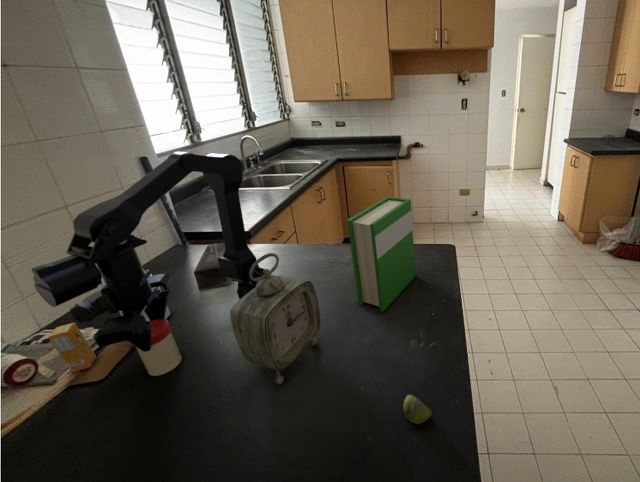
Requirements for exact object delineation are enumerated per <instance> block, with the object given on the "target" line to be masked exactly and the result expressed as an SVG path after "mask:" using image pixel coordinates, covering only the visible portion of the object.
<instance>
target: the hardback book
mask: <svg viewBox="0 0 640 482" xmlns="http://www.w3.org/2000/svg"><path fill="white" fill-rule="evenodd" d="M346 221H347V229H348V235H349V242H350V249H351V256H352V257H351V258H352V263H353V265H352V266H353V270H354V279H355V286H356V292H357V300H358V305H360V306H363V305H364V304H369V305H372V306H376V307H378V308H379V311H380V312H382V313H383V312H384V311H385V310H386V309H387V308H388V307H389V306H390V305H391V304H392V303H393V302H394V300H395V299H397V297H398V296H399V295H400V294H401V293H402V292H403V291H404V289H405V288H406V287H408V285H409V284H410V283H411V282H412V281H413V280H414V278H416V264H415V262H416V261H415V246H414V231H413V212H412V199H410V198H402V197H396V196H387V195H386V197H384V198H382V199H380V200H378V201H377V202H375V203H373V204H372V205H370V206H369V207H366V208H365V209H363V210H362V211H360V212H358V213H356V214H355V215H352V216H351V217H350V218H348V219H347V220H346Z"/></svg>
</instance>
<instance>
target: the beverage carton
mask: <svg viewBox="0 0 640 482" xmlns="http://www.w3.org/2000/svg"><path fill="white" fill-rule="evenodd" d="M224 252H225V244H224V242H221V243H211V244H209V245H206V247H205V249H204V251H203V253H202V255H201V257H200V259H199V261H198V263H197V265H196V267H195V269H194V271H193V276H194V279H195V281H196V285H197V288H198V290H205V289H209V288H215V287H220V286H226V285H228V284H229V280H230V279H228V278H226V277H224V276H223V274H222V273H221V272H219V269H220V268H219V263H218V261H217V258H218V257H222V256H223V254H224Z"/></svg>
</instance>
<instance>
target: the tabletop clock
mask: <svg viewBox="0 0 640 482" xmlns="http://www.w3.org/2000/svg"><path fill="white" fill-rule="evenodd" d="M269 257H274V258H275V264H274V265H273V267H272V268H271V269H270V270H269V269H268V268H264V269H265V270H264V271H263V274H264V275H263V276H261V277H259V278H253V277H252V274H253V271H254V269H255V267H256V266H257V265H259V264H260V263H261V262H262V261H264V260H265V259H268V258H269ZM256 260H257V261H255V262H254V264H253V265H252V267H251V269H250V274H249V275H250V279H251V280H252V281H259V282H258V283H257V284H256V287H255V288H254V289H252V290H251V291H250V292H249V293H247V294H246V295H245V296H244V297H242V298H241V299H240V300H239V299H238V300H237V301H236V302H235V303H234V304H233V306H232V307H231V308H230V322H231V326H232V330H233V335H234V338H235V339H236V342H237V344H238V347H239V349H240V351H241V354H242V355H243V357H244V358H245V360H247V361H248V362H249V363H252V364H255V365H258V366H261V367H263V368H267V369H271V370H274V371H275V373H276V377H275V378H274V382H275V384H276V385H281V384H283V383H284V380H285V378H284V376H283V375H281V372H282V371H284V370H285V369H287V368H288V367H290V366H291V364H293V362H294V361H295V360H297V358H299V357H300V356H301V354H302V353H303V352H304V351H305V350H306V349H307V347H308V346H309V345H310V346H316V345H317V343H318V339H317V338H316V336H317V334H318V333H319V331H320V327H321V313H320V306H319V300H318V296H317V293H316V290H315V287H314V285H313V283H312V282H311V280H309V279H306V278H305V279H304V278H300V277H293V276H289V275H283V274H279V275H275V274H273V273H274V272H275V271H276V270H277V268H278V266H279V262H280V258H279V256H278V254H276V253H273V252H270V253H269V252H268V253H266V254H263V255H262V256H260V257H259V258H258V259H256Z"/></svg>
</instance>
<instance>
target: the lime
mask: <svg viewBox="0 0 640 482" xmlns="http://www.w3.org/2000/svg"><path fill="white" fill-rule="evenodd" d="M402 409H403V413H404V415H405V417H406V419H407V421H409V422H411V423H413V424H414V425H415V424H416V425H420V424H422V423H425V422H426V421H428V420H429V419H430V418H431V416H432V413H433V412H432V410H431V409H430V408H429V407H428V406H427V405H425V404H424V403H423V402H422V401H421V400H420V399H419V398H418V397H416V396H415V395H413V394H407V395H406V396H405V398H404V401H403V407H402Z"/></svg>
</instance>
